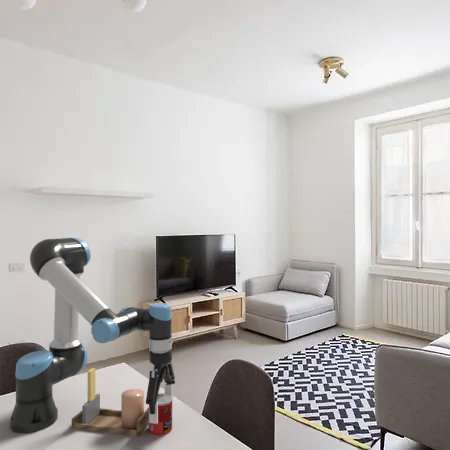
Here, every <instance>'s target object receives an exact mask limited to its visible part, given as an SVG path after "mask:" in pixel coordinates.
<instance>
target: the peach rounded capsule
mask: <svg viewBox="0 0 450 450" xmlns="http://www.w3.org/2000/svg"><path fill="white" fill-rule="evenodd" d="M120 396H121V401H120V404H121V407H120V409H121V427H122V428H124V429H132V430H137V420H138V419H139V418H140V417H141V415H142V414H143V413H144V412H145V391H144V390H142V389H140V388H130V389H127V390H125V391H123V392H122V393H121V395H120Z"/></svg>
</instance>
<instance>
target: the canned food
mask: <svg viewBox="0 0 450 450" xmlns="http://www.w3.org/2000/svg"><path fill="white" fill-rule="evenodd" d="M157 402H158V423H157V424H155V423H149V425H148V431H149V433H150V434H152V435H153V436H163V435H167V434H169V433H171V431H172V430H173V403H172V397H171V396H170V395H168V394H165V393H158V397H157Z"/></svg>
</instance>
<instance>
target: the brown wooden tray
mask: <svg viewBox="0 0 450 450" xmlns="http://www.w3.org/2000/svg"><path fill="white" fill-rule="evenodd" d="M148 427H149V406H147V408H146V410H144V413H143V414H142V415H141V417H140V418H139V419H138V420H137V430H132V429H124V428H122V427H121V410H119V409H111V408H104V407H103V408H102V407H100V414H98V415H97V416H96V417H95V418H94V419H93V420H92V421H91V422H90V423H89V424H84V423H82V410H81V411H79V412H78V413H76V415H74V416H73V417H72V418H71V429H79V430H87V431H93V432H100V433H101V432H102V433H109V434H116V435H123V436H124V435H125V436H131V437H137V438H138V437H141V436H142V435H143V433H144V432H145V430H146V429H147V428H148Z"/></svg>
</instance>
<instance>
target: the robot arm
mask: <svg viewBox="0 0 450 450" xmlns="http://www.w3.org/2000/svg"><path fill="white" fill-rule="evenodd" d="M90 261H91V250H90V246H89V245H88V243H86V241H85V240H83V239H81V238H79V237H77V238H76V237H62V238H46V239H43V240H41V241H39V242H38V243H36V244H35V245H34V246H33V248H32V249H31V251H30V255H29V263H30V266H31V269H32V270H33V272H34V273H35V274H36V275H37V277H39V278H40V280H42V281H47V282H48V283H49V284H50V285H51V286H52V287H53V288H54V316H53V317H54V320H53V322H54V324H53V325H54V327H53V339H52V340H51V342H49V343H48V344H49V347H48V350H46V349H44V350H43V349H42V350H37V351H32V352H29V353H27V354H25V355H23V356H21V357H20V358H19V359H18V360H17V362H16V365H15V371H14V376H15V405H14V408H13V410H12V413H11V416H10V420H9V428H10V430H11V431H13V432H15V433H19V434H20V433H21V434H25V433H34V432H39V431H40V430H41V431H42V430H43V429H46V428H48V427H50V426H51V425H53V424H54V423H55V422H57V420H58V417H59V416H58V415H59V412H58V411H59V410H58V408H57V406H56V403H55V400H54V397H53V396H54V395H53V385H55V384H58V383H60V382H62V381H64V380H66V379H69V378H71V377H74V376H76V375H77V374H79V373H80V372H81V371H83V370H84V369H85V367H86V366H87V364H88V359H89V353H88V350H87V349H86V346H85V344H83V343H82V339H80V337H79V314H80V316H82V317H83V318H84V320H85V321H86V322H87V323H88V324H90V326H91V331H90V332H91V335H92V338H93V340H94V341H95V342H96V343H99V344H107V343H110V342H113V341H116V340H117V339H119V338H122V337H123V336H126V335H127V336H128V335H129V334H131V333H134V332H137V331H141V332H149V333H148V336H149V339H148V344H149V346H148V347H149V348H148V349H149V363H150V364H152V365H153V370H149V378H148V383H147V391H146V398H145V405H148V407H149V423H155V424H157V423H158V402H157V397H158V394H160V388H161V384H162V383H163V381H164V382H165V384H164V394H168V395H170V396H171V397H172V404H173V403H174V402H173V401H174V400H173V398H174V397H173V385H175V384H176V380H175V379H176V378H175V377H176V376H175V373H174V368H173V364H172V360H173V350H172V344H173V343H174V341H173V339H172V336H173V335H172V320H173V319H172V318H173V315H172V306H171V305H170V304H168V303H164V302H156V303H151V304H150V305H149V306H148V308H143V307H142V308H141V307H135V306H130V307H129V306H125V307H123V308H122V309H121V310H120V311H119V312H118V313H115V312H114V311H113V310H111V308H109V306H107V304H106V303H105V302H103V301H102V300H101V299H100V297H98V295H96V294H95V293H94V292H93V291H92V289H90V288H89V287H88V286H87V285H86V284H85V283H84V282H83V281H82V280H81V278H80V277H81V276H82V275H83V274H84V273H85V272H84V268H85V266H87V265H88V264H89V262H90Z"/></svg>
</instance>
